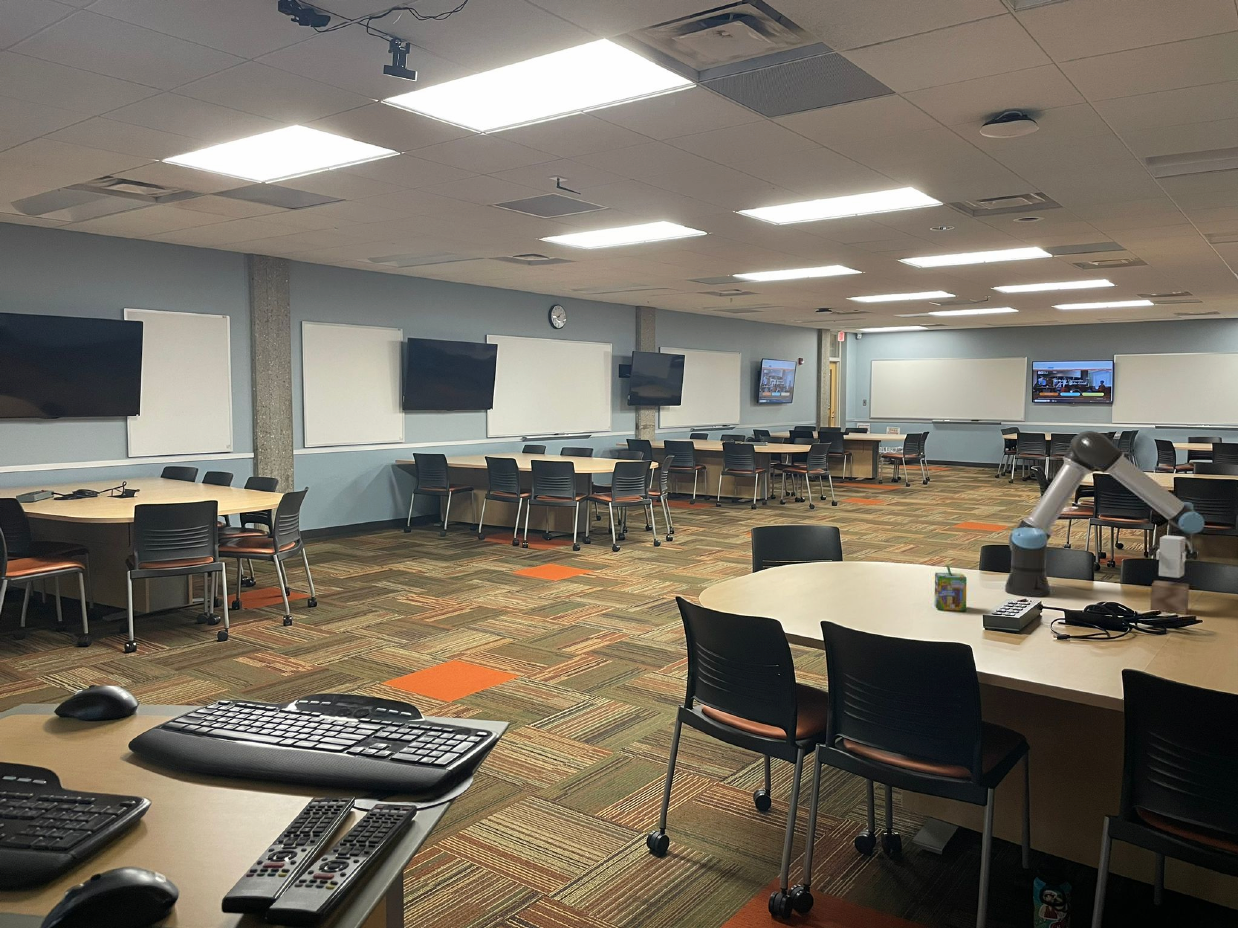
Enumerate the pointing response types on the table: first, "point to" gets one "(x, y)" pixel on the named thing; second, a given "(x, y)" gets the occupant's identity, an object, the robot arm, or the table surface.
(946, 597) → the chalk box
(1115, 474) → the robot arm
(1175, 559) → the small box
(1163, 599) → the walnut block
